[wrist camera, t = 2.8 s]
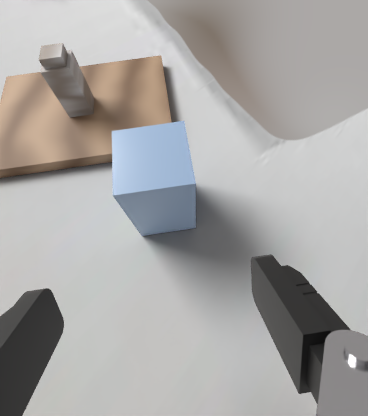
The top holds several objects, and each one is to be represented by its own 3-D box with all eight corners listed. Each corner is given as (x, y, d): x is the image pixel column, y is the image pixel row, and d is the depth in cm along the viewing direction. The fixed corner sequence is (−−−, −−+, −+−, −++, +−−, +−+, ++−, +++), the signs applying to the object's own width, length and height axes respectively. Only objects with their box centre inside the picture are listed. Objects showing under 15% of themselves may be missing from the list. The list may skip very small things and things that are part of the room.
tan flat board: (162, 65, 34) (152, -6, 27) (176, 152, 28) (168, 91, 20) (14, 86, 34) (-40, 20, 26) (-7, 179, 28) (-86, 127, 20)
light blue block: (187, 181, 26) (184, 120, 18) (195, 228, 24) (195, 183, 16) (138, 188, 26) (111, 131, 18) (142, 235, 24) (112, 195, 16)
